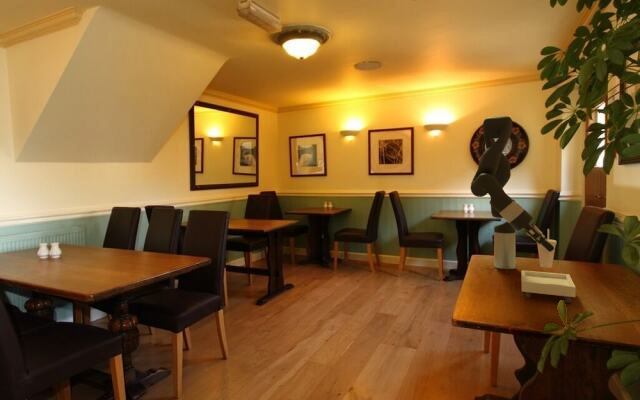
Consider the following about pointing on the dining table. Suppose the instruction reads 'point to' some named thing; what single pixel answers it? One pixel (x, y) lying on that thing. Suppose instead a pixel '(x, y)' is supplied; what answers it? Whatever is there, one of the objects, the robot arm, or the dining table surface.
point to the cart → (548, 284)
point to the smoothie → (546, 253)
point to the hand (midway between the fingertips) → (551, 248)
